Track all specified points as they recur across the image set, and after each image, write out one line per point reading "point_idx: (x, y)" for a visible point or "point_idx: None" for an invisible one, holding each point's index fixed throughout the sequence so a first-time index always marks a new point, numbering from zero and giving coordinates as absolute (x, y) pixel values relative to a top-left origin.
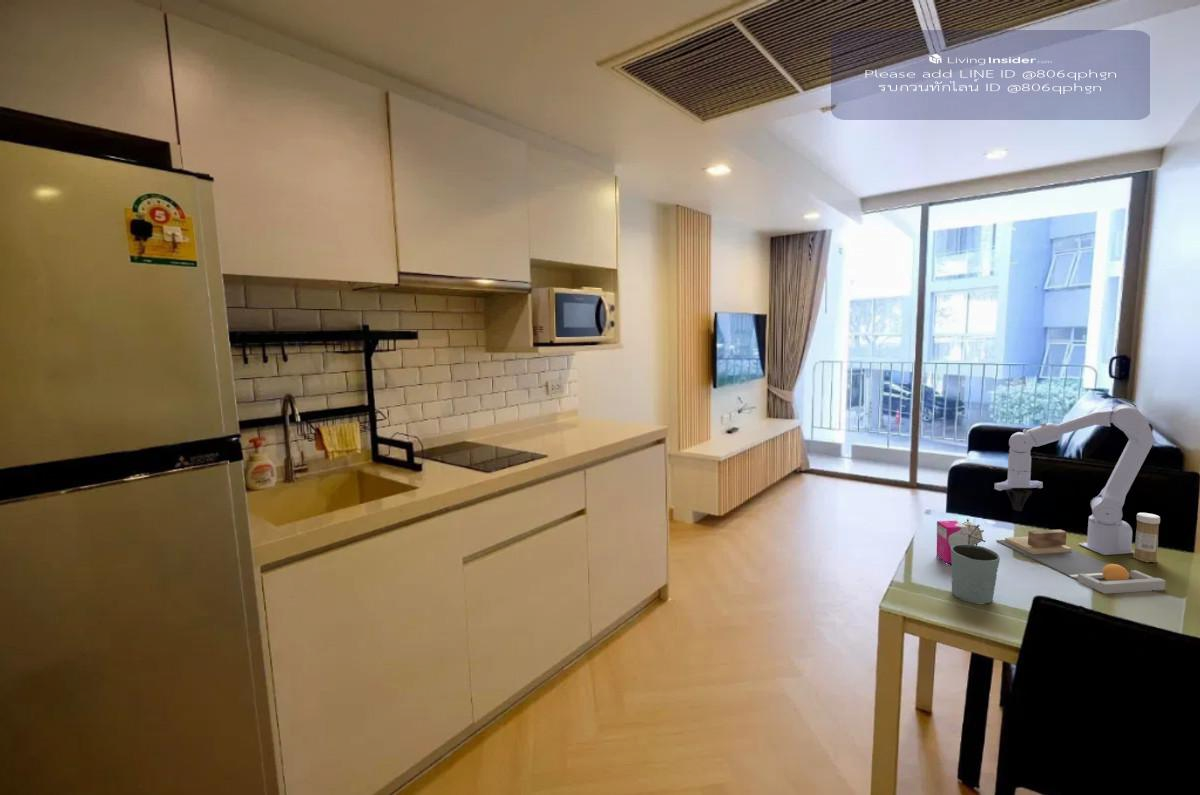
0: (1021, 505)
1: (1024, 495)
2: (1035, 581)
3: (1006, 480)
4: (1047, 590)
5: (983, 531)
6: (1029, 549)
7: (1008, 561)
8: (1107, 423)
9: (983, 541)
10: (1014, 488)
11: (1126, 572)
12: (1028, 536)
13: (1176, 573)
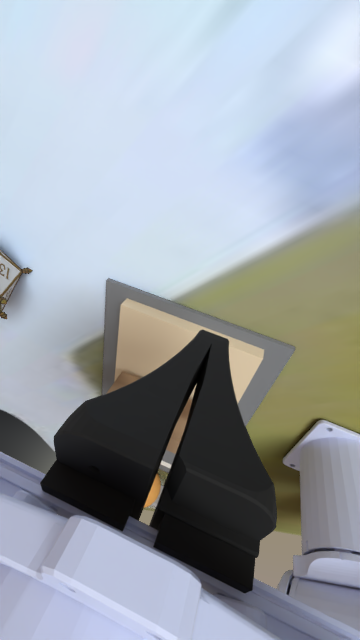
0: (192, 401)
1: (161, 493)
2: (38, 405)
3: (45, 556)
4: (35, 419)
5: (5, 303)
6: (115, 373)
7: (46, 355)
8: None
9: (2, 314)
10: (65, 516)
11: None
12: (107, 392)
13: (295, 525)
